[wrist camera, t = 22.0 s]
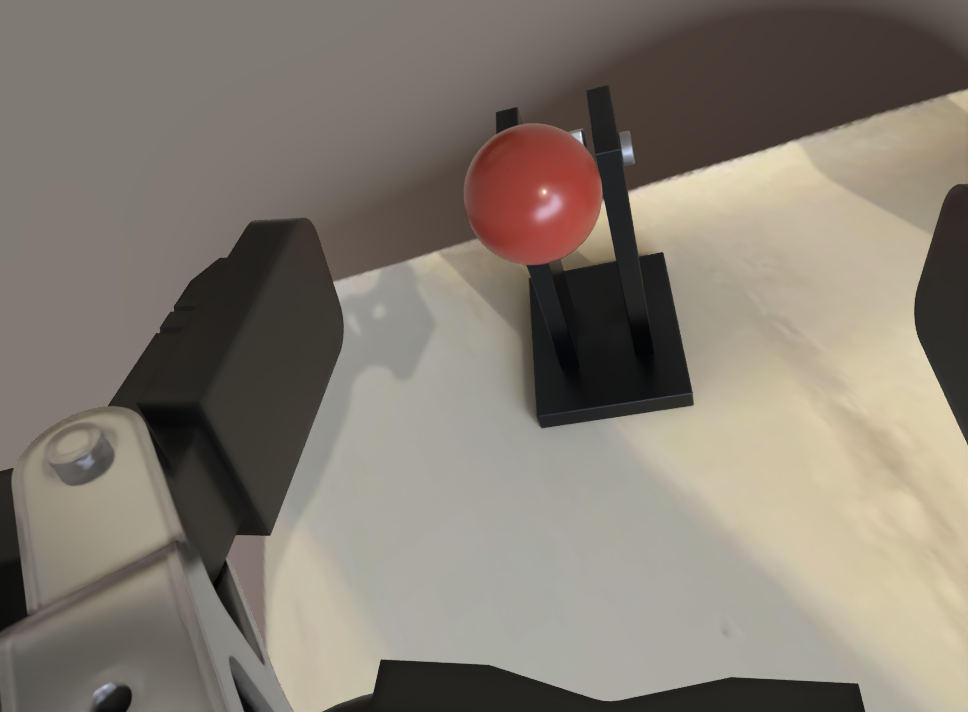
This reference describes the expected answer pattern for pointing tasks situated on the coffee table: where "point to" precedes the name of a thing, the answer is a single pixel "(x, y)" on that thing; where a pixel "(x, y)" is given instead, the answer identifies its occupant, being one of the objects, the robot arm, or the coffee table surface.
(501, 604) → the coffee table surface
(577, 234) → the red knobbed lever
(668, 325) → the black lever stand
